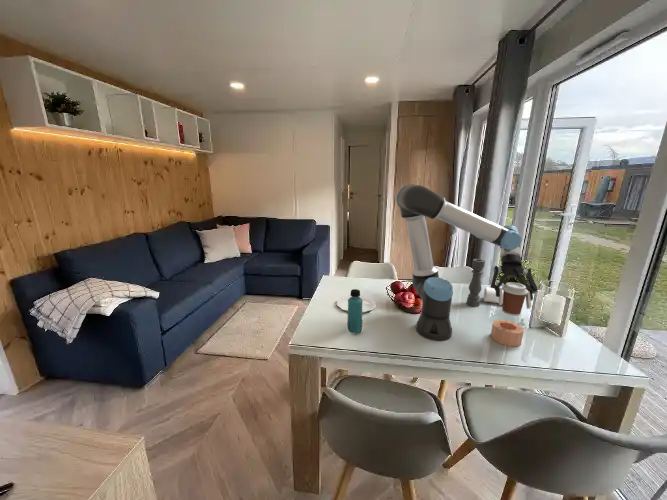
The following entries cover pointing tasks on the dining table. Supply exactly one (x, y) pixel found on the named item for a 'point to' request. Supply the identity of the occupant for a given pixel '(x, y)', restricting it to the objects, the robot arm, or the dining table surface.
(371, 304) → the plate
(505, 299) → the coffee cup
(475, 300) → the candle holder
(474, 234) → the robot arm
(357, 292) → the beverage bottle
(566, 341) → the dining table surface
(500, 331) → the terracotta bowl
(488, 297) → the mug
